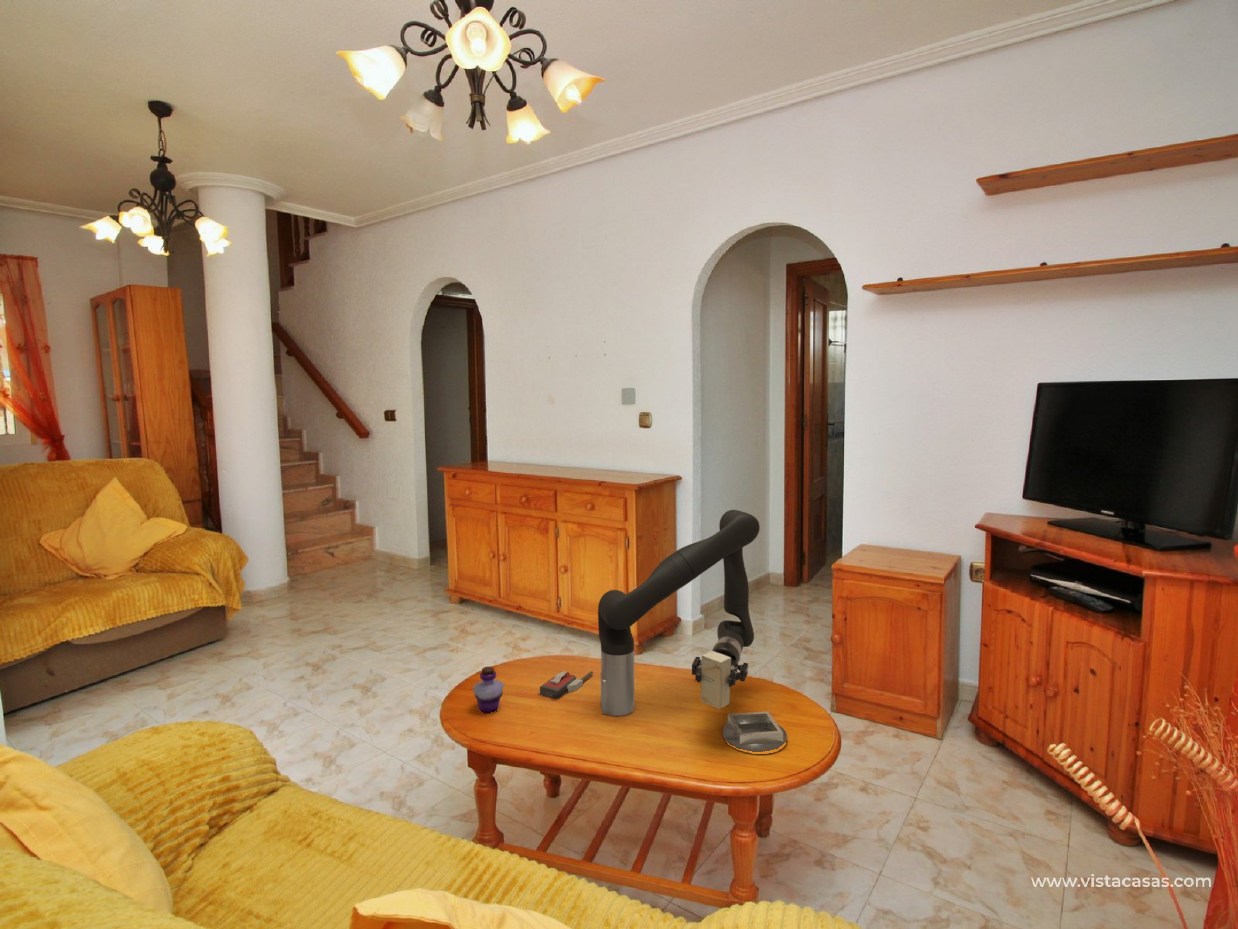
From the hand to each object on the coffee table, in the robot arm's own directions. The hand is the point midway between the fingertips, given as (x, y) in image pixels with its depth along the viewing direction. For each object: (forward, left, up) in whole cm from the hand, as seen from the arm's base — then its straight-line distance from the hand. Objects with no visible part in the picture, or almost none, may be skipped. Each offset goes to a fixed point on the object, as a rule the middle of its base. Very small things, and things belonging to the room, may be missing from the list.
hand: (714, 681), depth 162 cm
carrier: (+12, +4, -18) cm, 21 cm away
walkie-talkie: (-35, +40, -18) cm, 56 cm away
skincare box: (+1, +2, -7) cm, 7 cm away
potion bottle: (-57, +28, -18) cm, 66 cm away
